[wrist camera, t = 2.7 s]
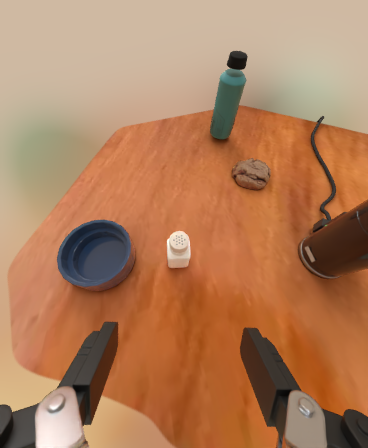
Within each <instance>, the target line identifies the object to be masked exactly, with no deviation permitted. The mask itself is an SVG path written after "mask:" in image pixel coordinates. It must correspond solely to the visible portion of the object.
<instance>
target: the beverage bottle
mask: <svg viewBox="0 0 368 448" xmlns="http://www.w3.org/2000/svg"><path fill="white" fill-rule="evenodd" d="M246 61H247V55H246V53H243V52H241V51H233V52H231V53H230V56H229V60H228V62H227V66H228V67H229V68H232V69H228V70H226V71H225V72H223V73H222V75H221V76H220V82H219V87H218V92H217V97H216V102H215V107H214V113H213V117H212V120H211V122H212V123H211V126H210V127H211V129H210V133H211V135H212V136H213V137H215V138H217V139H226V138H228V137H229V135H230V133H231V130H232V129H233V128H232V127H233V125H234V122H235V121H234V120H235V117H236V115H237V110H238V106H239V102H240V99H241V96H242V92H243V89H244V86H245V83H246V78H245V75H244V74H243V72H242V71H240V70H242V69H244V68H245V66H246Z"/></svg>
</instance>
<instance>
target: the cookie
mask: <svg viewBox="0 0 368 448" xmlns="http://www.w3.org/2000/svg"><path fill="white" fill-rule="evenodd" d="M270 175H271V170H270V168H269V167H268V165H266V163H264V162H262V161H260V160H258V159H256V160H255V161H254V159H253V158H251V159H248V160H246V161H239V162H237V163H236V164H235V165H234V167H233V170H232V177H233V178H234V179H235V180H236V182H237V183H238V184H239V185H240V186H242V187H245V188H248V189H253V190H258V189H261V188H262V187H264V186H265V185H266V184H267V182H268V180H269V177H270Z"/></svg>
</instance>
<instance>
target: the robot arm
mask: <svg viewBox="0 0 368 448" xmlns="http://www.w3.org/2000/svg"><path fill="white" fill-rule="evenodd" d="M323 119H324V116H322V117H321V118H320V119H319V120H318V121H317V122H318V124H317V125H316V127H315V129H314V131H313V133H312V135H311V143H312V146H313V149H314V151H315V153H316V156H317V158H318V160H319V161H320V163H321V165H322V166H323V168H324V170H325V172H326V174H327V176H328V178H329V180H330V183H331V185H332V194H331V196H330V197H329V198H328V199H327V200H326V201H324V202H323V203H322V205H321V207H320V210H321V211H322V212H323V213H324V214H325V215H326V218H327V219H324V218H323V219H321V220H320V221H318V222H317V223H315V224H314V227H313V231H312V233H310V236H308V237H306V238H304V239H303V240H302V241H301V242H300V244H299V249H298V250H299V256H300V259H301V261H302V262H303V264H304V265H305V266H306V268H307V269H308V270H309V271H311V272H312V273H313V274H315V275H317V276H319V277H321V278H325V279H334V278H337V277H340V276H342V275H346V274H350V273H354V272H358V271H361V270H365V269H368V200H366V201H364V202H363V203H361V204H360V205H358V206H357V207H355V208H353V209H352V210H350V211H349V212H344V213H342V214H340V215H339V216H337V217H335V218H334V219H332V220H331V217H330V214H329V213H328V212H327V211H326V210H325V209H324V206H325V205H326V204H327V203H328V202H329V201H331V200H332V199H333V198H334V196H335V193H336V186H335V183H334V180H333V178H332V176H331V174H330V172H329V170H328V168H327V166H326V165H325V163H324V161H323V160H322V158H321V156H320V154H319V152H318V150H317V148H316V145H315V142H314V135H315V132H316V130H317V128H318V127H319V125H320V123H321V121H322V120H323ZM117 347H118V322H104V324H103V326H102V328H101V330H100V331H93V332H92V333H91V334H90V335H89V336H88V337H87V338H86V339H85V341H84V343H83V344H82V346H81V349H80V350H79V351H78V353H77V356H76V357H75V358H74V360H73V362H72V363H71V365H70V367H69V369H68V370H67V372H66V374H65V375H64V377H63V379H62V381H61V382H60V384H59V386H58V387H57V389H55V390H53V391H52V392H50V393H49V394H48V395H47V396H45V398H44V399H43V400H42V401H41V402H40V403H38V404H36V405H33V406H30V407H27V408H24V409H21V410H18V411H15V412H12V410H11V408H10V406H8V405H0V448H89V445H88V442H87V441H86V439H85V435H84V431H83V426H84V425H91V423H92V420H93V418H94V415H95V412H96V409H97V406H98V403H99V401H100V398H101V395H102V392H103V389H104V386H105V384H106V381H107V378H108V375H109V372H110V369H111V367H112V364H113V361H114V358H115V355H116V352H117ZM240 353H241V358H242V361H243V363H244V366H245V369H246V371H247V374H248V377H249V379H250V382H251V385H252V387H253V390H254V393H255V395H256V398H257V401H258V403H259V406H260V408H261V411H262V414H263V416H264V419H265V422H266V424H267V427H276V429H277V431H278V438H277V445H276V448H368V417H367V416H365V415H364V414H362V413H360V412H358V411H356V410H352V409H348V410H346V411H345V412H344V415H343V416H340V415H338V414H335V413H332V412H330V411H327V410H324V409H322V408H321V407H320V406H319V405H318V403H317V402H316V401H315V400H314V399H313V398H312V397H310V396H309V395H308V394H306V393H304V392H302V391H301V389H300V387H299V386H298V384H297V382H296V381H295V379H294V377H293V376H292V374H291V373H290V371H289V369H288V368H287V366H286V364H285V363H284V362H283V359H282V358H281V356H280V355H279V353H278V351H277V350H276V348H275V346H274V345H273V344H272V343H271V342H270V341H269V340H268V339H267V338H263V337H262V336H261V334H260V332H259V330H258V329H257V328H244V330H243V335H242V341H241V346H240Z"/></svg>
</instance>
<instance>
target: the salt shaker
mask: <svg viewBox="0 0 368 448" xmlns="http://www.w3.org/2000/svg"><path fill="white" fill-rule="evenodd" d="M190 256H191V253H190V241H189V237H188V235H187V234H186V233H184V232H181V231H177V232H174V233H173V234H172V235H171V236H170V239H168V241H167V259H168V266H169V267H170V268H182V267H187V266H188V263H189V260H190Z"/></svg>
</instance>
